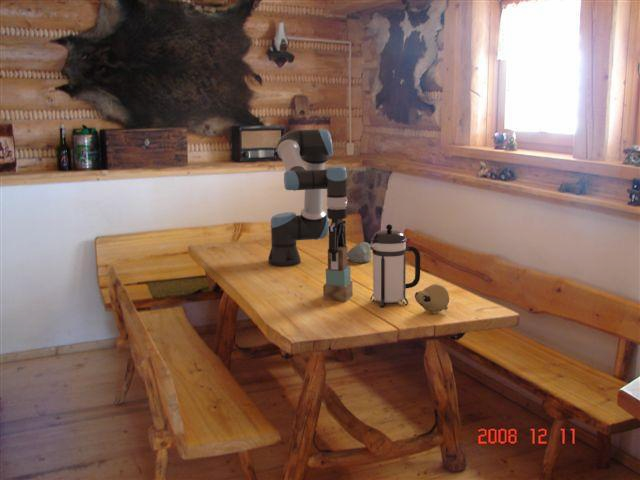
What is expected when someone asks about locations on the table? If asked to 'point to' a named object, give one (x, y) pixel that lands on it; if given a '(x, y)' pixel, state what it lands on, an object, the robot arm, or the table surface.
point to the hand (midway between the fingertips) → (337, 266)
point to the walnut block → (340, 259)
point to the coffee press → (391, 266)
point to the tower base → (337, 292)
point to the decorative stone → (360, 253)
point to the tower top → (338, 277)
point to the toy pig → (433, 298)
